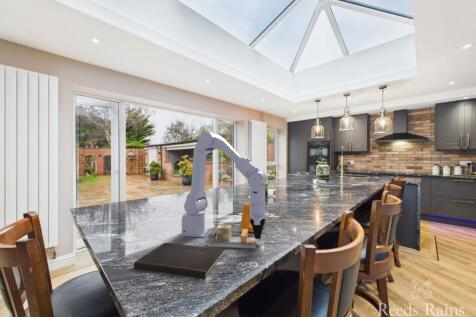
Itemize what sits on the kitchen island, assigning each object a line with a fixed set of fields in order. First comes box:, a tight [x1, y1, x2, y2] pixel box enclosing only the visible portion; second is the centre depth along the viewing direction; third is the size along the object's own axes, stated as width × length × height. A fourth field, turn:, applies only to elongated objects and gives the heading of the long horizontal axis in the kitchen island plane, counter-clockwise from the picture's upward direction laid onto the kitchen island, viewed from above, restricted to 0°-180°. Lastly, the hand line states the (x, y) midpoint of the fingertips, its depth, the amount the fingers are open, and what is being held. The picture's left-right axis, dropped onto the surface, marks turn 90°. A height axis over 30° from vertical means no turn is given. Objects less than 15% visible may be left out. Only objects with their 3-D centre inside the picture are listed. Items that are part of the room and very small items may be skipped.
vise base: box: [206, 227, 258, 249], centre depth 86 cm, size 18×10×4 cm, turn 83°
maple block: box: [216, 224, 232, 242], centre depth 86 cm, size 5×4×5 cm
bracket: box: [240, 202, 265, 233], centre depth 101 cm, size 11×7×12 cm, turn 151°
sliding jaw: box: [241, 229, 249, 242], centre depth 85 cm, size 2×8×3 cm, turn 173°
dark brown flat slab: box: [133, 242, 225, 280], centre depth 71 cm, size 16×23×2 cm
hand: (257, 238), depth 85 cm, fingers closed
